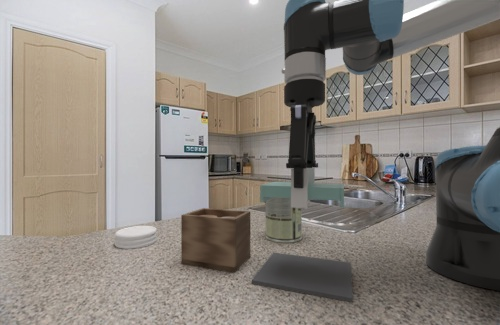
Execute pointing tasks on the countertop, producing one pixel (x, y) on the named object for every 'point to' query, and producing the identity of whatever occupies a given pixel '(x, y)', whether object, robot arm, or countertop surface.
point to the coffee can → (282, 221)
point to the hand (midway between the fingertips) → (303, 203)
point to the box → (215, 239)
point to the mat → (307, 276)
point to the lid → (314, 191)
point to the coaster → (135, 237)
